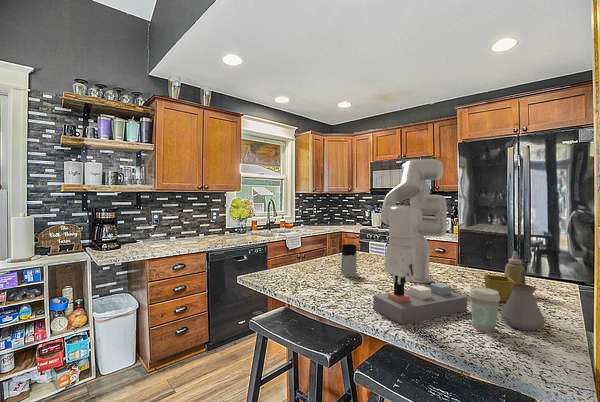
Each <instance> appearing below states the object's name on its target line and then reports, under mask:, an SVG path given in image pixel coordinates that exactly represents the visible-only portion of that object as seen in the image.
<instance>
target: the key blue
mask: <svg viewBox="0 0 600 402" xmlns="http://www.w3.org/2000/svg"><path fill="white" fill-rule="evenodd" d="M429 287H430V289H431V293H434V294H436V295H439V296H446V295H451V292H452V290H451V289H452V286H451V285H448V284H446V283H442V282H435V283H430V284H429Z"/></svg>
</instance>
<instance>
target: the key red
mask: <svg viewBox="0 0 600 402" xmlns="http://www.w3.org/2000/svg"><path fill="white" fill-rule="evenodd" d="M388 299H390V300H392V301H394V302H396V303H404V302H410V296H408V295H406V294H404V295H399V296H397V295H395V294H394V293H392V292H388Z"/></svg>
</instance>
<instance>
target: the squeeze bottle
mask: <svg viewBox="0 0 600 402" xmlns="http://www.w3.org/2000/svg"><path fill="white" fill-rule="evenodd" d="M521 271H524V274H525V275H526V273H525V272H526V270H525V266H524V265H522V259H519V254H518V251H516V250H513V252H512V256H511V258H508V263H506V264H505V268H504V274H503V276H505V277H509V278H510V279H512V280H513V281H514V282H515V283H518V284H521V275H520V274H522V273H521ZM519 272H520V274H519ZM524 277H525V278H526V276H524ZM524 284H525V285H527V284H526V281H525V283H524Z"/></svg>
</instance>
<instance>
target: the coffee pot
mask: <svg viewBox="0 0 600 402" xmlns="http://www.w3.org/2000/svg"><path fill="white" fill-rule="evenodd" d="M524 271H525V270H524ZM524 271H521V273H522V274H520V272H519V274H520V275H521V284H518V283H514V284H511V286H512V288H513V292H512V294H511V295H510V297H509V299H508V301H507V302H506V303H505V304H504V306H503V307H502V309H501V310H500V315H501V318H502V319H503V320H504V322H506V324H507V325H509V326H510V327H512V328H515V329H517V330H521V331H529V332H534V331H537V330H538V329H540V328H542V327H543V326H544V325H545V323H546V320H545V319H544V316H543V313H542V312H541V309H540V307H539V305H538V303H537V301H536V299H535V296H534V294H535V292H536V291H537V287H535V286H533V285H529V284H526V285H525V284H524V283H525V282H526V276H527V275H528V273H527V272H526V271H525V274H524ZM524 276H525V277H524Z"/></svg>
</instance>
